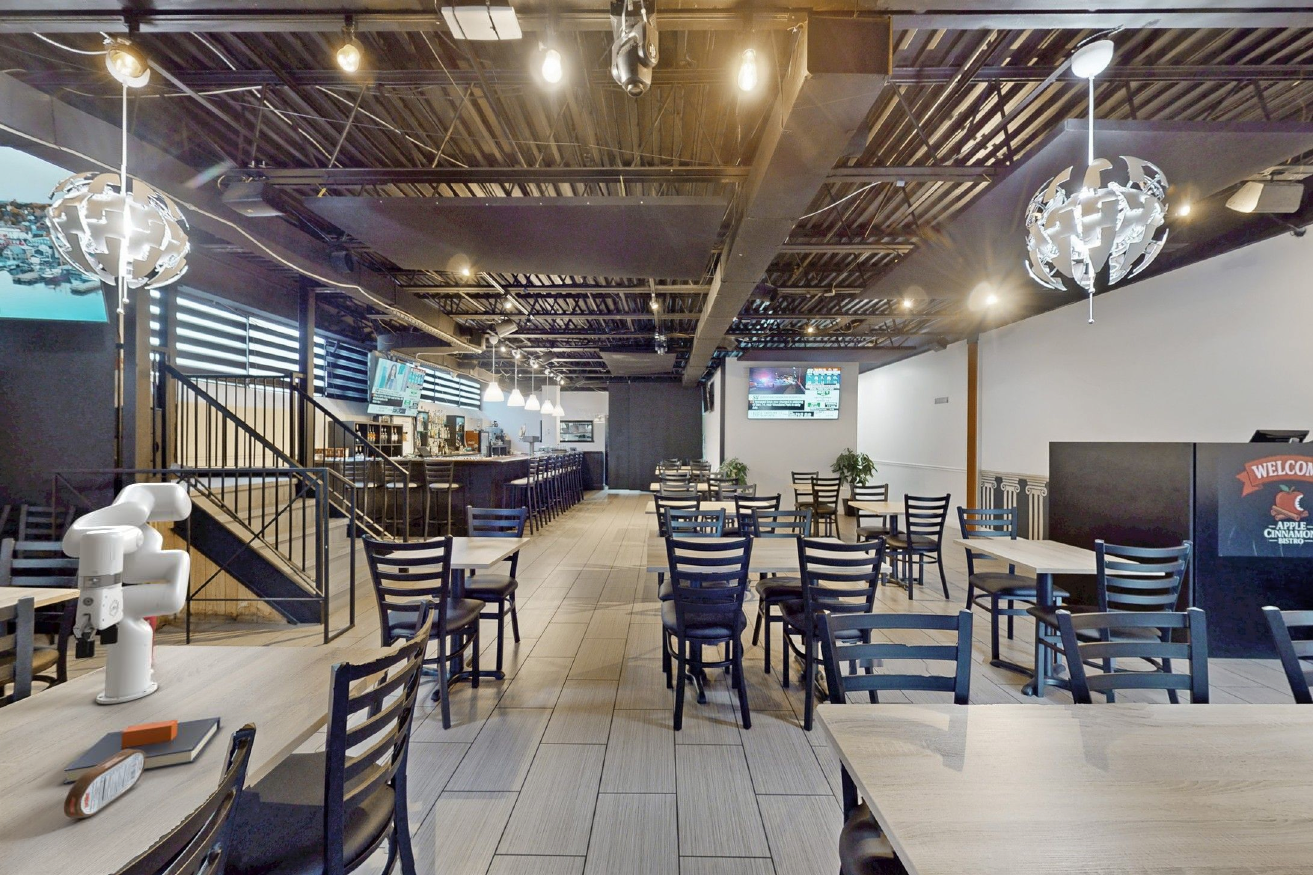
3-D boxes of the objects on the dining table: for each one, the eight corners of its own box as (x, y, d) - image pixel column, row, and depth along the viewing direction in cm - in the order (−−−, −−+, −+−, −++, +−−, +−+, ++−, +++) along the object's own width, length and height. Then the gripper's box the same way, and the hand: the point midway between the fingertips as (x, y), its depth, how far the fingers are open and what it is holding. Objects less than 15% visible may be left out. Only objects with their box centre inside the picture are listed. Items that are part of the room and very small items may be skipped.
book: (107, 745, 127) (108, 732, 127) (220, 728, 136) (220, 716, 136) (63, 784, 112) (64, 770, 112) (192, 762, 121) (193, 749, 121)
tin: (133, 779, 114) (134, 740, 114) (148, 779, 114) (150, 740, 115) (60, 828, 99) (62, 783, 99) (78, 828, 99) (81, 782, 100)
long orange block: (128, 741, 124) (129, 726, 124) (176, 734, 127) (177, 719, 127) (121, 748, 121) (122, 732, 121) (171, 740, 124) (171, 725, 124)
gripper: (99, 587, 123) (96, 661, 122) (138, 572, 139) (135, 637, 138) (56, 590, 120) (52, 666, 120) (101, 574, 136) (97, 640, 136)
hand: (97, 650), depth 129 cm, fingers open, 9 cm apart
